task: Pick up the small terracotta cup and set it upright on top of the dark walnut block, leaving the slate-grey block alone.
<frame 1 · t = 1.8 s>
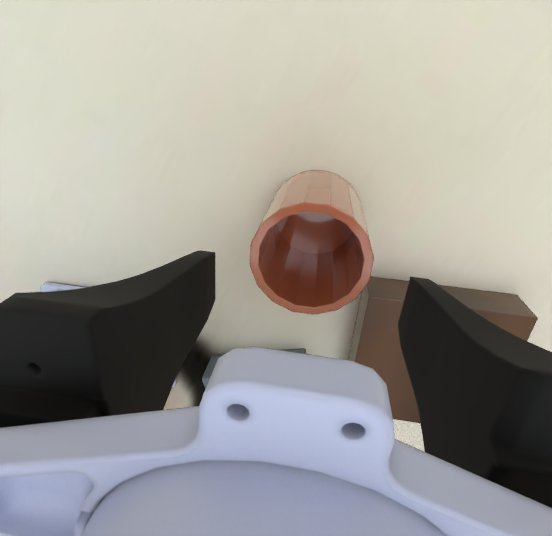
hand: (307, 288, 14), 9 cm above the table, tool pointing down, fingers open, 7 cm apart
cup: (315, 215, 21), on the table
grey block: (266, 388, 28), on the table
walnut block: (421, 344, 24), on the table
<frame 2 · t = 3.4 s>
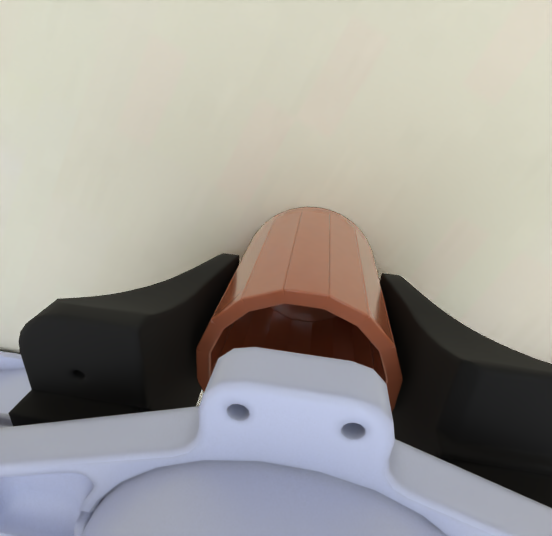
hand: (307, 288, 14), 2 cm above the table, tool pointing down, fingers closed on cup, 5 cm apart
cup: (308, 267, 15), on the table, touching gripper
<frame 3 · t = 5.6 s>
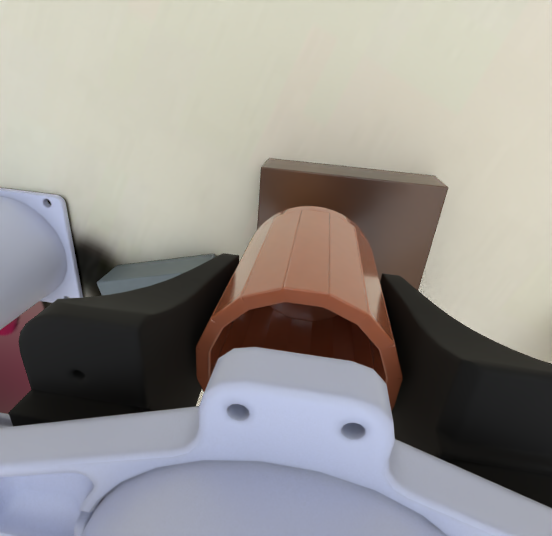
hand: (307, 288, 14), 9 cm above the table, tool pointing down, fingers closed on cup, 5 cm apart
cup: (308, 267, 15), point 7 cm above the table, touching gripper
grey block: (179, 304, 25), on the table
walnut block: (337, 243, 22), on the table
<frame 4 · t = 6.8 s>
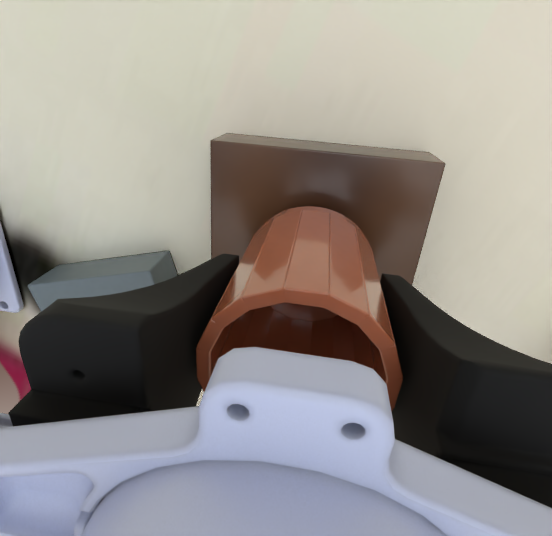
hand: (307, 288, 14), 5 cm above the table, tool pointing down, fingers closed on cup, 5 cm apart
cup: (308, 267, 15), point 4 cm above the table, touching gripper
grey block: (133, 310, 22), on the table
walnut block: (313, 236, 18), on the table
when the fingers open (4 cm above the table, at t = 7.7 s): cup stays where it is, resting on walnut block.
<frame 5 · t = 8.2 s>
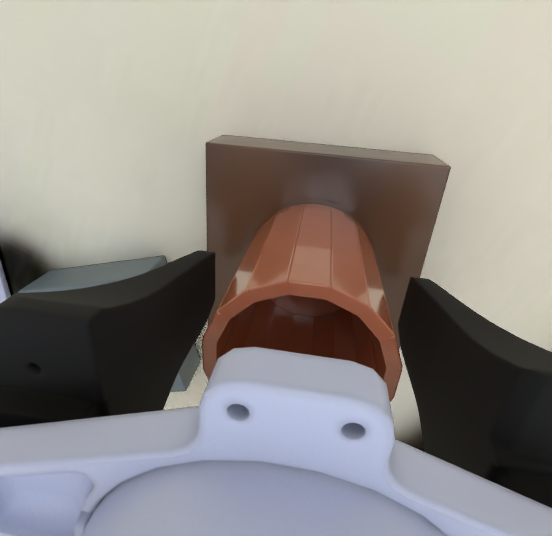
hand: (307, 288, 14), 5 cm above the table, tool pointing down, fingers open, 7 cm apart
cup: (310, 263, 15), point 2 cm above the table, touching walnut block
grey block: (128, 316, 21), on the table
walnut block: (313, 241, 18), on the table, touching cup
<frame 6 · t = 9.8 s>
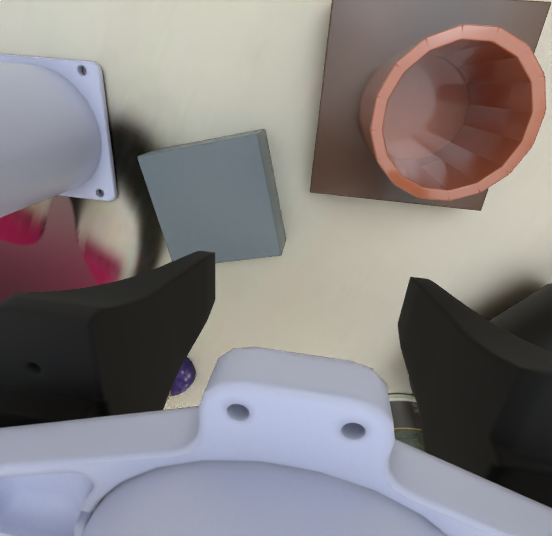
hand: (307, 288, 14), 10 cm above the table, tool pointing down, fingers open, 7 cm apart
cup: (414, 109, 18), point 3 cm above the table, touching walnut block
coffee can: (396, 436, 31), on the table
end cap: (489, 338, 25), on the table
toy lamp: (175, 366, 31), on the table
grey block: (222, 196, 23), on the table
walnut block: (404, 107, 20), on the table, touching cup
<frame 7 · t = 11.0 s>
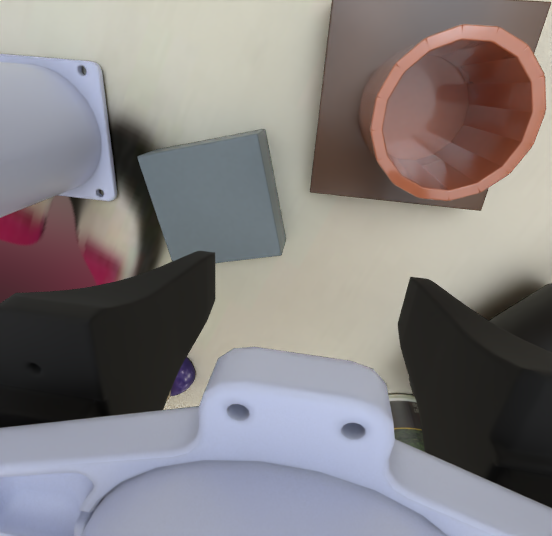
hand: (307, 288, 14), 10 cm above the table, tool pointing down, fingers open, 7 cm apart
cup: (414, 109, 18), point 3 cm above the table, touching walnut block
coffee can: (396, 436, 31), on the table
end cap: (489, 337, 25), on the table
toy lamp: (175, 366, 31), on the table
grey block: (222, 196, 23), on the table
walnut block: (404, 107, 20), on the table, touching cup
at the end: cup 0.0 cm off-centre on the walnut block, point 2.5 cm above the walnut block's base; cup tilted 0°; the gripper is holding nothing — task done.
